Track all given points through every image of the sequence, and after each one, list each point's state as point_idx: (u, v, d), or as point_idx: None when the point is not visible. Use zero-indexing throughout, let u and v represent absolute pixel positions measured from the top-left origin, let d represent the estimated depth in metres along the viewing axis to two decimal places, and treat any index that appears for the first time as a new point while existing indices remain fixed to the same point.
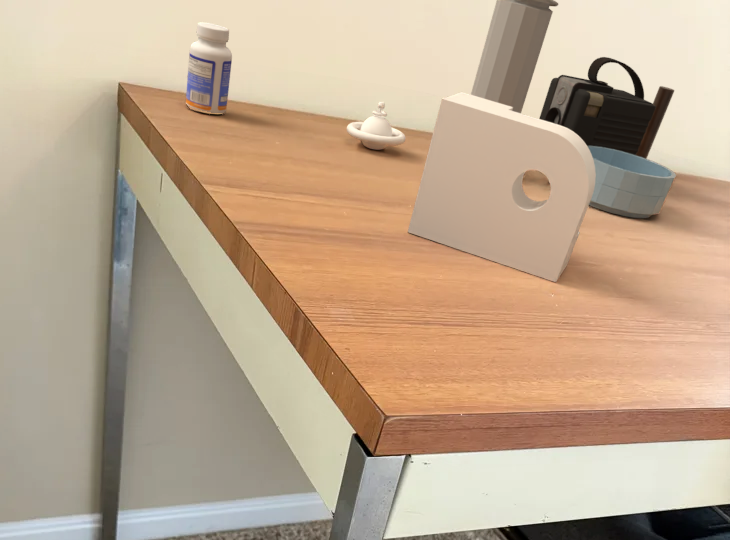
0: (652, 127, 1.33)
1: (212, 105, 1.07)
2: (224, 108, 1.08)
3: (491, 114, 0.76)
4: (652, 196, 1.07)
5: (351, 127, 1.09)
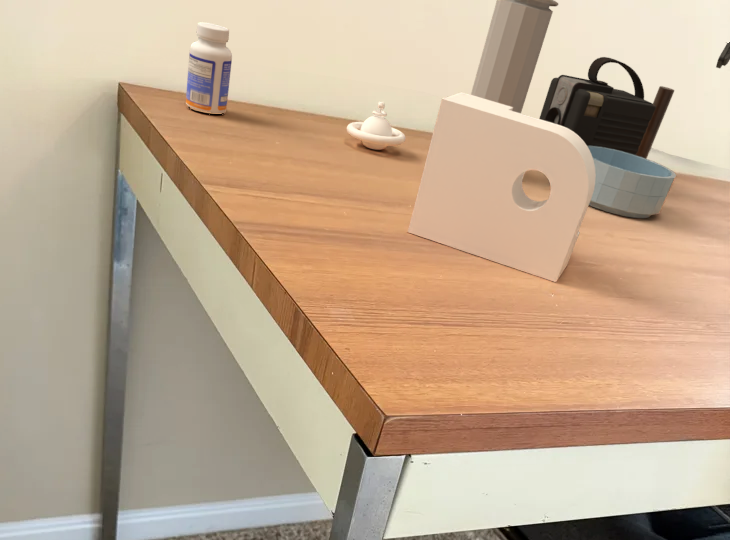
0: (652, 127, 1.33)
1: (212, 105, 1.07)
2: (224, 108, 1.08)
3: (491, 114, 0.76)
4: (652, 196, 1.07)
5: (351, 127, 1.09)
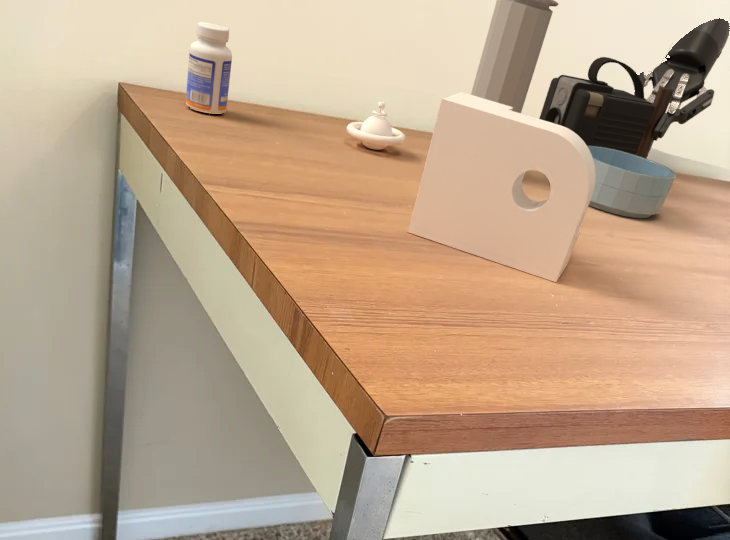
0: (652, 127, 1.33)
1: (212, 105, 1.07)
2: (224, 108, 1.08)
3: (491, 114, 0.76)
4: (652, 196, 1.07)
5: (351, 127, 1.09)
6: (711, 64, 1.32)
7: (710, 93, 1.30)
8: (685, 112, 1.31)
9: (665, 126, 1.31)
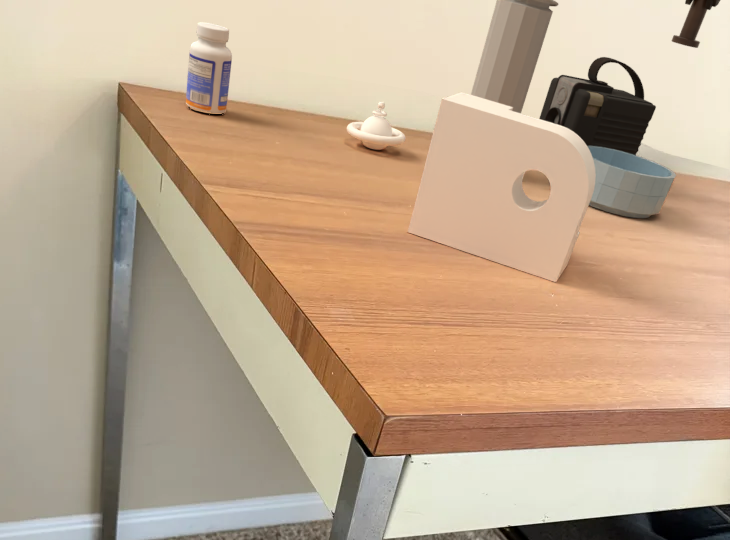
0: None
1: (212, 105, 1.07)
2: (224, 108, 1.08)
3: (491, 114, 0.76)
4: (652, 196, 1.07)
5: (351, 127, 1.09)
6: None
7: None
8: None
9: None
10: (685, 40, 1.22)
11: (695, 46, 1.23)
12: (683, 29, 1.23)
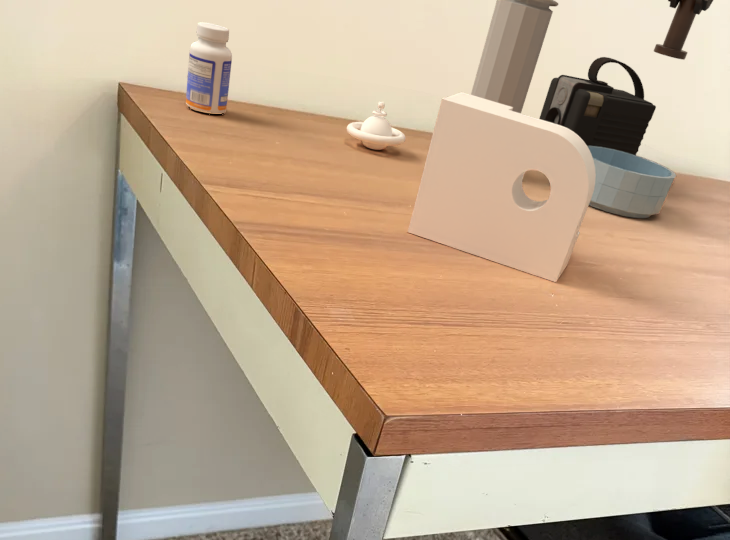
0: None
1: (212, 105, 1.07)
2: (224, 108, 1.08)
3: (491, 114, 0.76)
4: (652, 196, 1.07)
5: (351, 127, 1.09)
6: None
7: None
8: None
9: None
10: (669, 50, 1.02)
11: (681, 57, 1.02)
12: (667, 37, 1.02)
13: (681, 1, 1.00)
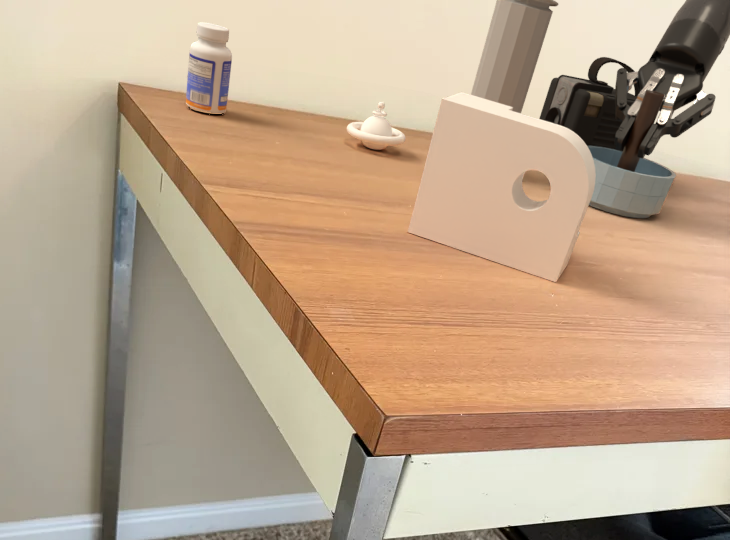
0: (637, 142, 1.06)
1: (212, 105, 1.07)
2: (224, 108, 1.08)
3: (491, 114, 0.76)
4: (652, 196, 1.07)
5: (351, 127, 1.09)
6: (711, 62, 1.05)
7: (710, 99, 1.03)
8: (679, 123, 1.04)
9: (654, 140, 1.04)
10: None
11: None
12: None
13: (626, 145, 1.07)
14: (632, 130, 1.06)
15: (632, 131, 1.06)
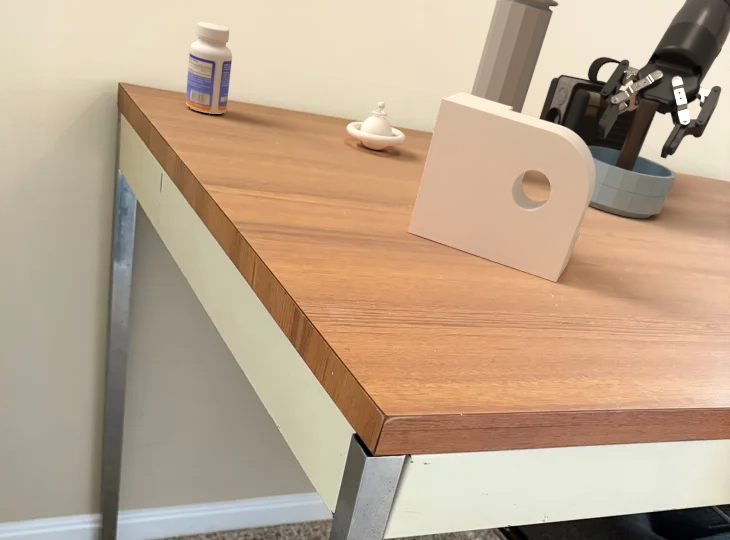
0: (632, 149, 1.08)
1: (212, 105, 1.07)
2: (224, 108, 1.08)
3: (491, 114, 0.76)
4: (652, 196, 1.07)
5: (351, 127, 1.09)
6: (709, 64, 1.07)
7: (717, 90, 1.05)
8: (703, 122, 1.05)
9: (677, 140, 1.06)
10: None
11: None
12: None
13: (621, 152, 1.09)
14: (627, 138, 1.08)
15: (627, 139, 1.08)
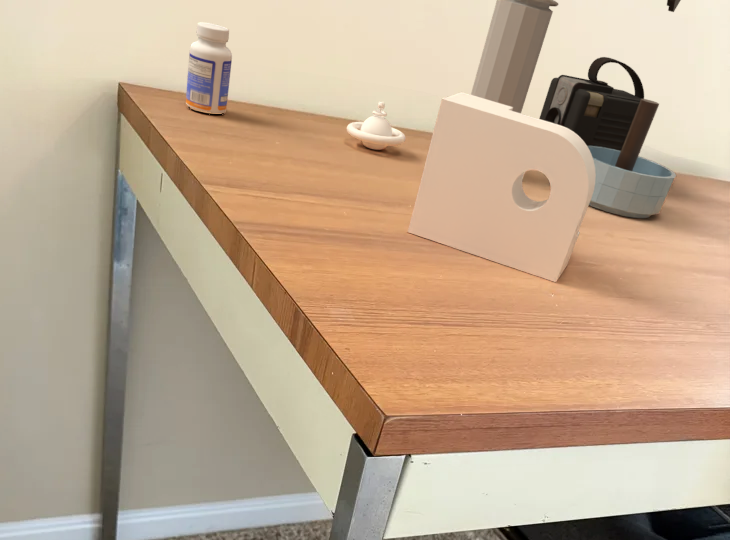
0: (632, 149, 1.08)
1: (212, 105, 1.07)
2: (224, 108, 1.08)
3: (491, 114, 0.76)
4: (652, 196, 1.07)
5: (351, 127, 1.09)
6: None
7: None
8: None
9: None
10: None
11: None
12: None
13: (621, 152, 1.09)
14: (627, 138, 1.08)
15: (627, 139, 1.08)
